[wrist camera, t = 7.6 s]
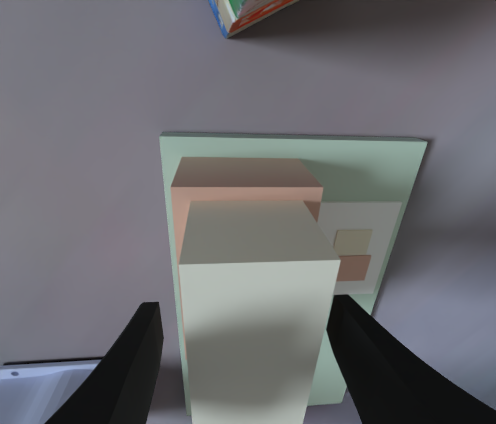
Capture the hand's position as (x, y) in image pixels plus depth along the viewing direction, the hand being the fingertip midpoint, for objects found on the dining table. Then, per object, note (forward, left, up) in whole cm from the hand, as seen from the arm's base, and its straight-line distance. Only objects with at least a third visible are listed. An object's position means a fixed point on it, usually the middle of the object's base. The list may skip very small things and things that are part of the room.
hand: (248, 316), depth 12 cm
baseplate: (+3, -6, -7) cm, 10 cm away
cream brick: (0, 0, -2) cm, 2 cm away
